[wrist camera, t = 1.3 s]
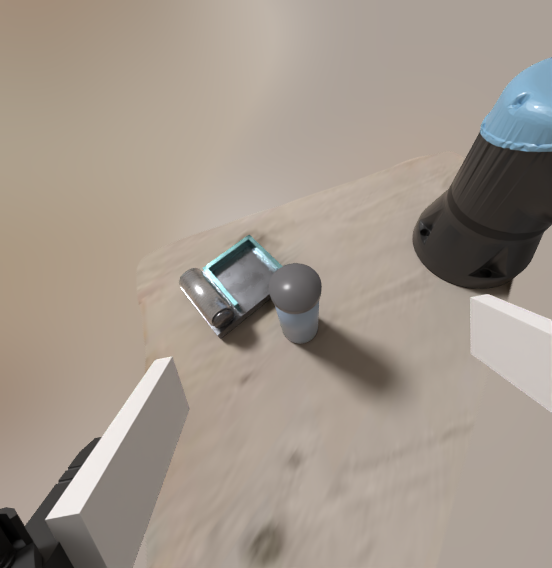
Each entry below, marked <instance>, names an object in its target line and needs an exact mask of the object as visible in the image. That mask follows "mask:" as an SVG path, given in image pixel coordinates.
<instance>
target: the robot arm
mask: <svg viewBox="0 0 552 568" xmlns="http://www.w3.org/2000/svg"><path fill="white" fill-rule="evenodd" d="M551 225H552V57H551V58H548V59H545V60H543V61H540V62H538V63H536V64H534V65H532V66H530V67H529V68H527V69H525V70H524V71H522V72H521V73H519V74H518V75H517V76H516V77H515V78H514V79H513V80H512V81H511V82H510V83H509V84H508V85H507V87H506V88H505V89H504V91H503V92H502V94H501V96H500V97H499V99H498V101H497V102H496V104H495V106H494V107H493V109H492V110H491V112H490V113H489V114H488V115H487V116H486V117H485V119H484V120H483V122H482V124H481V130H480V133H479V135H478V136H477V138H476V140H475V142H474V144H473V146H472V148H471V150H470V151H469V153H468V155H467V157H466V159H465V160H464V162H463V164H462V166H461V168H460V169H459V171H458V173H457V175H456V177H455V178H454V180H453V182H452V184H451V186H450V188H449V189H448V190H447V191H446V192H444V193H443V194H442V195H441V196H440V197H439V198H438V199H436V200H435V201H434V202H433V203H432V204H431V205H429V206H428V207H427V208H426V209H425V210H424V212H423V213H422V214H421V216H420V217H419V220H418V222H417V224H416V226H415V228H414V231H413V245H414V249H415V251H416V254H417V256H418V257H419V259H420V260H421V262H422V263H423V264H424V265H425V266H426V267H427V268H428V269H429V270H430V271H431V272H433V273H434V274H435V275H437V276H438V277H440V278H442V279H444V280H446V281H448V282H450V283H453V284H456V285H459V286H463V287H468V288H492V287H496V286H500V285H503V284H505V283H507V282H509V281H510V280H512V279H513V278H514V277H516V276H517V275H518V274H519V273H521V272H522V271H523V270H524V269H525V268H526V267H527V266H528V264H529V263H530V262H531V260H532V258H533V255H534V253H535V251H536V249H537V247H538V244H539V242H540V240H541V237H542V235H543V233H544V231H545V230H547V229H548V228H549V227H550V226H551ZM470 331H471V354H472V355H473V356H475V357H476V358H477V359H479V360H480V361H481V362H483V363H484V364H486V365H487V366H488V367H490V368H491V369H493V370H494V371H495V372H497V373H498V374H499V375H501V376H502V377H503V378H505V379H506V380H508V381H509V382H510V383H512V384H513V385H514V386H516V387H517V388H518V389H520V390H521V391H523V392H524V393H525V394H527V395H528V396H530V397H531V398H532V399H534V400H535V401H536V402H538V403H539V404H540V405H542V406H543V407H545V408H546V409H547V410H549V411H550V412H551V413H552V320H550V319H548V318H545V317H543V316H541V315H538V314H536V313H533V312H531V311H528V310H526V309H523V308H521V307H519V306H516V305H513V304H511V303H509V302H506V301H504V300H501V299H499V298H496V297H494V296H492V295H489V294H485V295H480V296H475V297H470ZM189 409H190V408H189V405H188V402H187V399H186V396H185V393H184V390H183V387H182V384H181V381H180V378H179V375H178V372H177V369H176V366H175V363H174V360H173V357H167V358H162V359H157V360H155V361H154V362H153V364H152V365H151V367H150V368H149V369H148V371H147V372H146V374H145V375H144V377H143V378H142V380H141V381H140V383H139V384H138V385H137V387H136V389H135V390H134V391H133V393H132V394H131V396H130V397H129V399H128V400H127V401H126V403H125V404H124V406H123V407H122V409H121V410H120V412H119V413H118V414H117V416H116V417H115V419H114V420H113V422H112V423H111V425H110V426H109V428H108V429H107V430H106V432H105V433H104V435H103V436H102V437H99V438H95V439H94V440H93V441H91V442H90V443H89V444H88V445H87V446H86V447H85V448H84V449H83V450H81V452H79V454H78V455H77V456H76V458H75V459H74V460H73V462H72V463H71V464H70V466H69V467H68V470H67V471H65V473H64V474H63V475H62V477H61V478H60V479H59V483H58V484H56V485H55V486H54V488H53V489H52V490H51V492H50V493H49V494H48V496H47V497H46V498H45V500H44V501H43V502H42V504H41V505H40V506H39V508H38V509H37V511H36V512H35V513H34V515H33V516H32V517H31V519H30V520H29V521H28V523H27V524H26V525H25V526H24V524H23V523H22V521H21V519H20V518H19V516H18V514H17V513H16V511H15V509H13V508H7V507H6V508H2V509H0V568H133V565H134V562H135V559H136V557H137V554H138V551H139V548H140V545H141V542H142V540H143V537H144V534H145V532H146V529H147V526H148V523H149V520H150V518H151V515H152V512H153V509H154V507H155V504H156V501H157V498H158V495H159V493H160V490H161V487H162V484H163V481H164V479H165V476H166V473H167V470H168V467H169V465H170V462H171V459H172V456H173V454H174V451H175V448H176V445H177V442H178V440H179V437H180V434H181V431H182V428H183V426H184V423H185V420H186V417H187V415H188V412H189Z"/></svg>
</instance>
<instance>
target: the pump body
mask: <svg viewBox="0 0 552 568" xmlns="http://www.w3.org/2000/svg"><path fill="white" fill-rule="evenodd" d="M321 287H322V286H321V280H320V277H319V275H318V274H317V273H316V271H315V270H313V269H312V268H311V267H309V266H307V265H304V264H298V263H293V264H288V265H285V266H283V267H281V268H279V269H278V270H277V271H276V272H275V273H274V274H273V275H272V277H271V279H270V282H269V293H270V297H271V300H272V302H273V303H274V305H275V307H276V310H277V314H278V317H279V321H280V324H281V327H282V331H283V333H284V335H285V337H286V338H287V339H288V340H290V341H291V342H294V343H299V344H300V343H306V342H308V341H310V340H312V339H313V338H314V337H315V335H316V333H317V331H318V315H319V299H320V296H321Z"/></svg>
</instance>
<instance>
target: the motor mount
mask: <svg viewBox="0 0 552 568" xmlns="http://www.w3.org/2000/svg"><path fill="white" fill-rule="evenodd" d="M281 267H283V266H282V265H280V264H279V263H278V262H277V261H276V260H275V259H274V258H273V257H272V256H271V255H270V254H269V253H268V252H267V251H266V250H265V249H264V248H263V247H262V246H261V245H260V244H259V243H258V242H256V241H255V240H254V239H253V238H252V237H251V236H250V235H248V236H246V237H245V238H244V239H242V240H241V241H239V242H238V243H237V244H235V245H234V246H232V247H231V248H230V249H228V250H227V251H226V252H224V253H223V254H221V255H220V256H219V257H217V258H216V259H215V260H213V261H212V262H210V263H209V264H208V265H206V266H205V267H203V270H204V271H203V272H202V271H201V270H200V269H198V268H193V269H190V270H188V271H186V272H185V273H184V274H183V275H182V276H181V277H180V280H179V284H180V286H181V289H182V290H183V291H184V292H185V294H186V295H187V296H188V298H189V299H190V300H191V302H192V303H193V304H194V306H195V307H196V308H197V310H198V311H199V312H200V313H201V315H202V316H203V317H204V319H205V320H206V321H207V323H208V324H209V325H210V327H211V328H212V329H213V330H214V332H215V333H216V334H217V336H218V337H219V338H220V339H221V338H222V337H223V336H225V335H226V334H227V333H228V332H230V331H231V330H232V329H233V328H235V327H236V326H237V325H238V324H240V323H241V322H242V321H243V320H245V319H246V318H247V317H248V316H250V315H251V314H252V313H253V312H254V311H256V310H257V309H258V308H259V307H261V306H262V305H263V304H264V303H266V302H267V301H268V300H269V299H271V297H270V293H269V282H270V279H271V277H272V275H273V274H274V273H275V272H276V271H277V270H278V269H279V268H281Z"/></svg>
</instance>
